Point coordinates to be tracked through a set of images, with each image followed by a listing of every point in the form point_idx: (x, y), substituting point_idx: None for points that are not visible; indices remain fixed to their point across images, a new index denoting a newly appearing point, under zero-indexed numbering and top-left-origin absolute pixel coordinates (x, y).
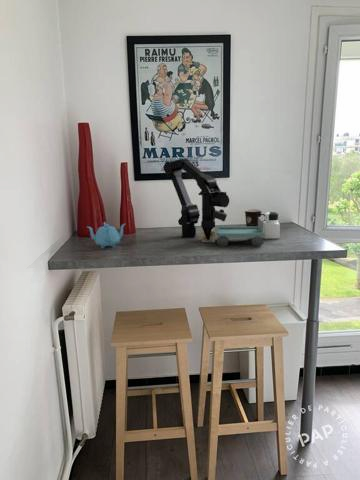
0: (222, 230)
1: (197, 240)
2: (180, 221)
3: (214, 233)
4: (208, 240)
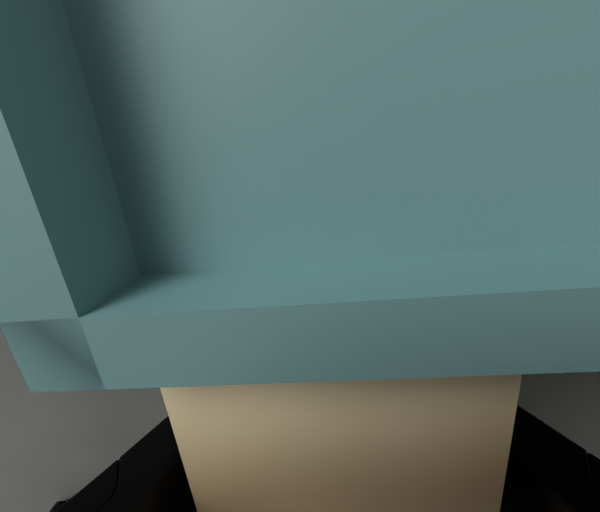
0: (356, 84)
1: None
2: None
3: None
4: None
